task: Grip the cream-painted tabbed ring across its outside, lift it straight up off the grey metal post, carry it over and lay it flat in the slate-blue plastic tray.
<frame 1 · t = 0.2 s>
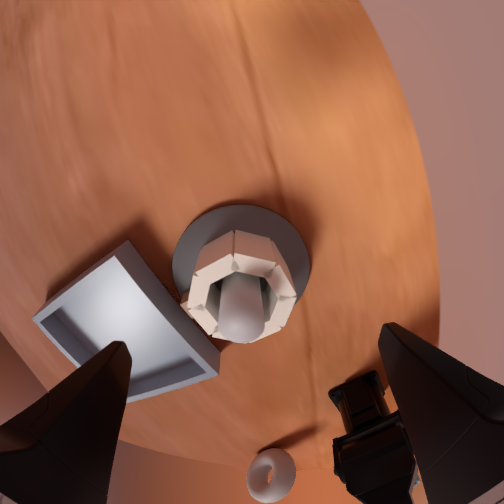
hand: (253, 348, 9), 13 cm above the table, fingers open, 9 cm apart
donut: (267, 449, 38), on the table
stake: (240, 270, 23), on the table
tray: (124, 329, 25), on the table
ring: (240, 274, 22), point 1 cm above the table, touching stake
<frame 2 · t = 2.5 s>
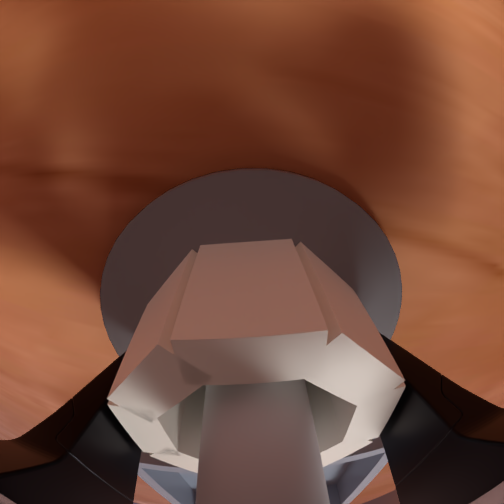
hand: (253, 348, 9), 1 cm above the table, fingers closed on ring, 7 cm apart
stake: (252, 325, 10), on the table
tray: (264, 465, 16), on the table
ring: (253, 336, 10), point 1 cm above the table, touching gripper, stake
when the fingers open (3 cm above the table, at t = 8.2 s): ring drops 2 cm, resting on tray.
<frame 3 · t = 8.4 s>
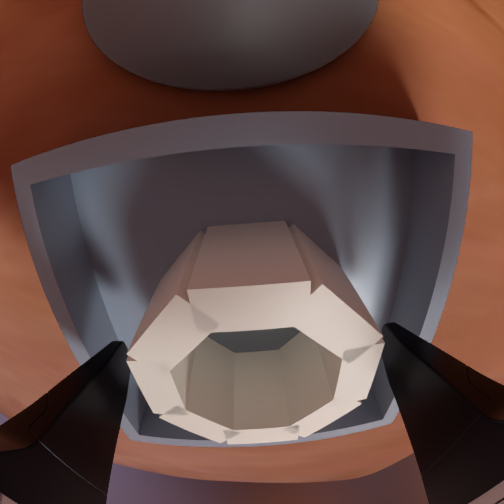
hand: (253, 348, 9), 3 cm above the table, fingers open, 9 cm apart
tray: (251, 301, 11), on the table
ring: (253, 309, 11), point 1 cm above the table, touching tray
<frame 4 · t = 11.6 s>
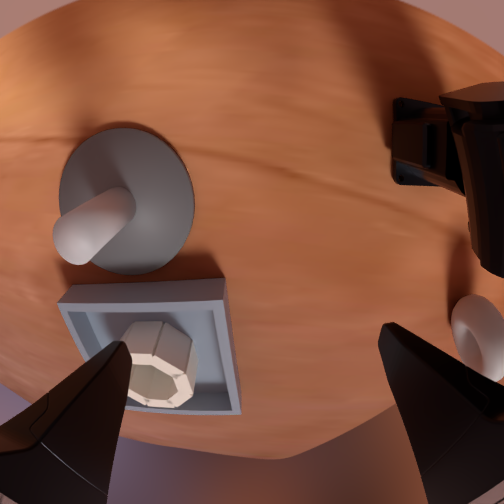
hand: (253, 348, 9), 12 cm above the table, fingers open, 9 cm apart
donut: (455, 311, 25), on the table
stake: (121, 203, 19), on the table
tray: (159, 346, 24), on the table
ring: (158, 351, 24), point 1 cm above the table, touching tray
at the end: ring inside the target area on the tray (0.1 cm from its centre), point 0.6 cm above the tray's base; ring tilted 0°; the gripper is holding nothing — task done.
